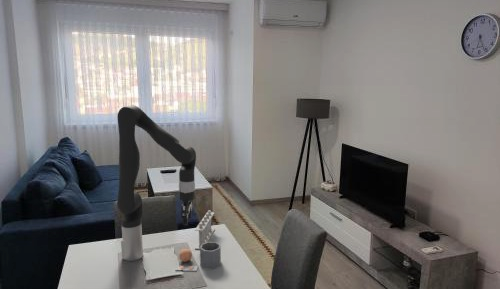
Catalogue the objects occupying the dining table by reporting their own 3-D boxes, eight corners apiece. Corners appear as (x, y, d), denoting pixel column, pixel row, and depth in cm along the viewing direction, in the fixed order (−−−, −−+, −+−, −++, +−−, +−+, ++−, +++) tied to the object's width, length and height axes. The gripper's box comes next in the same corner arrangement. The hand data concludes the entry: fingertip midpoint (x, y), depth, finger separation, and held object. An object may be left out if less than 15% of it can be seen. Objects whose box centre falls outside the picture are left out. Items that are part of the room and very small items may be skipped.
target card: (175, 270, 161) (175, 269, 161) (177, 266, 165) (177, 265, 165) (196, 271, 161) (196, 270, 161) (198, 266, 165) (198, 265, 164)
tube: (199, 268, 163) (199, 250, 161) (202, 258, 172) (202, 241, 170) (219, 269, 163) (218, 251, 161) (221, 259, 172) (221, 242, 170)
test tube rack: (203, 250, 181) (202, 226, 178) (195, 249, 181) (194, 225, 179) (214, 229, 205) (214, 208, 203) (207, 229, 206) (207, 208, 203)
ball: (178, 264, 167) (177, 252, 166) (181, 257, 173) (180, 246, 172) (190, 264, 167) (190, 252, 166) (193, 258, 173) (192, 246, 171)
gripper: (182, 184, 170) (182, 215, 173) (175, 194, 156) (175, 227, 159) (197, 185, 170) (197, 216, 173) (191, 194, 156) (192, 228, 159)
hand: (187, 221), depth 166 cm, fingers open, 8 cm apart
